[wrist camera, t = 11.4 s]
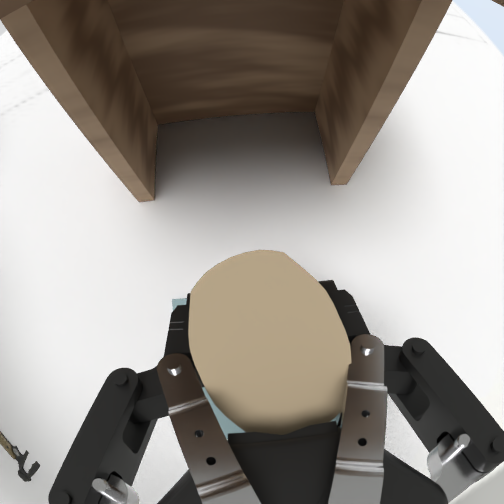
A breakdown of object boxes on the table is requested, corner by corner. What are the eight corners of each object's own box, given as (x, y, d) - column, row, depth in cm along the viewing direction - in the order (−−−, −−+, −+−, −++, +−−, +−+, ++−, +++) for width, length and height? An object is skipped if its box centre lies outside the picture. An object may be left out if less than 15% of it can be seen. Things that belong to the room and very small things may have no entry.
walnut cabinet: (145, 116, 30) (60, -90, 6) (325, 101, 30) (383, -113, 6) (138, 233, 27) (-70, 17, 3) (352, 214, 27) (529, -25, 3)
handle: (246, 385, 23) (241, 461, 9) (214, 311, 25) (163, 285, 10) (303, 360, 24) (375, 400, 9) (270, 287, 25) (298, 228, 10)
